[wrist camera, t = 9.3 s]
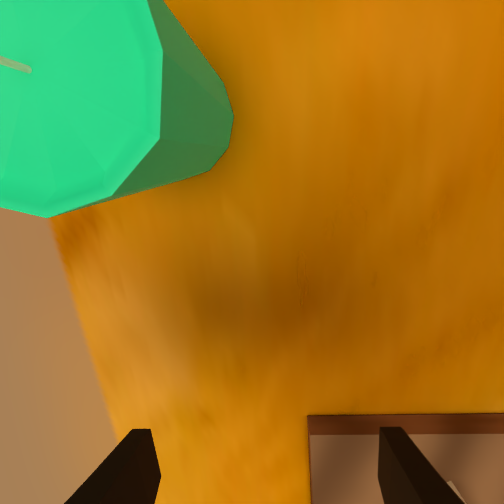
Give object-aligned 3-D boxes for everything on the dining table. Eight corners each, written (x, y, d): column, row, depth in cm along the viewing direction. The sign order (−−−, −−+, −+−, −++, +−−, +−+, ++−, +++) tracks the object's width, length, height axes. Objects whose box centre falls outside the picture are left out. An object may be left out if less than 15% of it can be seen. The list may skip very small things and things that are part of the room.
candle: (165, 201, 17) (-48, 293, 6) (94, 101, 16) (-358, -28, 5) (256, 137, 16) (210, 97, 5) (187, 23, 15) (-124, -436, 3)
